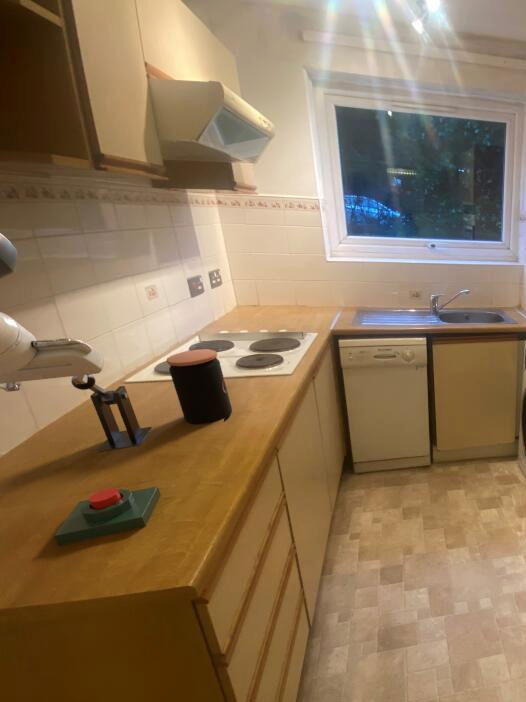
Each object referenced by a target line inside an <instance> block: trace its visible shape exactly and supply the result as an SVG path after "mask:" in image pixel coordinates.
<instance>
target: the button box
mask: <svg viewBox="0 0 526 702" xmlns="http://www.w3.org/2000/svg"><path fill="white" fill-rule="evenodd" d="M117 489H118V488H117ZM118 490H119V493H120V495H121V500H120V501H118V502H117V503H116V504H114V505H111V506H109V507H106V508H102V509H93V508H92V506H91V503H90V501H89V499H86V500H81V501H79V502H78V503H77V505H76V506H75V507H74V508H73V509H72V511H71V512H70V514H69V515H68V517H67V518H66V519H65V521H63V523H62V524H61V526H59V528H58V530H57V531H56V532H55V534H54V535H53V537H54V540H55V541H56V543H57V545H58V546H65V545H69V544H72V543H78V542H82V541H86V540H92V539H96V538H101V537H104V536H105V537H106V536H110V535H113V534H118V533H123V532H127V531H132V530H136V529H141V528H146V527H147V525H148V523H149V521H150V518H151V517H152V516H153V515H152V514H153V513H154V510H155V508H156V506H157V504H158V502H159V500H160V498H161V496H162V494H161V492H160V488H159V486H158V485H157V486H151V487H147V488H142V489H141V488H140V489H136V490H132V491H130V490H129V489H123V488H122V489H121V488H119V489H118Z"/></svg>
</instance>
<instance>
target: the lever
mask: <svg viewBox="0 0 526 702" xmlns="http://www.w3.org/2000/svg"><path fill="white" fill-rule="evenodd" d="M87 377H88V378H87V383H84V384H75V383H74V382H73V381H72V379H71V385H72V386H73V388H75V389H77V390H82V391H86V390H90V391H92V392H93V393H94V392H95V393H97V394H98V395H100V396H101V401H102V402H103V403H105V404H107V405H110V406H112V405H117V403H116V401H115V398H114V396H113V392H114V391H115V390H105V389H104V388H103V387H101V386H99V385H97V384H96V383H97V382H96V378H95V376H94V375H93V374H89V375H87ZM102 388H103V389H102Z"/></svg>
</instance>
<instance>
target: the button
mask: <svg viewBox="0 0 526 702" xmlns="http://www.w3.org/2000/svg"><path fill="white" fill-rule="evenodd" d="M88 500H89V501H90V503H91V506H92V508H93V509H102V508H106V507H109V506H111V505H114V504H116V503H117V502H118V501H120V500H121V495H120V493H119V490H118V488H116V487H110V488H105V489H101V490H99V491H97V492H95V493H93V494H92V495H90V496H89V498H88Z"/></svg>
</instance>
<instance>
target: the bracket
mask: <svg viewBox="0 0 526 702" xmlns="http://www.w3.org/2000/svg"><path fill="white" fill-rule="evenodd" d="M101 388H102V389H104V388H103V387H101ZM113 391H114V392H113V396H114V398H115V401H116V403H117V404H116V406H117V409H118V411H119V414H120V416H121V419H122V422H123V424H124V427H125V429H126V430H120V428H119V425H118V422H117V420H116V418H115V415H114V413H113V410H112V407H111V405H107V404H105V403H103V402H102V401H101V396H100V395H98V394H97V393H95V392H93V393H92V394H90V396H89V397H90V399H91V402H92V404H93V407H94V410H95V411H96V414H97V417H98V419H99V422H100V424H101V427H102V429H103V432H104V434H105V436H106V440H105V441H104V443H103V444H102V445H101V446H100V447H99V449H97V451H96V453H103V452H108V451H109V452H110V451H115V450H120V449H126V448H127V449H128V448H131V447H138V446H141V445H142V444H143V442H144V440H145V439H146V437H147V436H148V434H149V433H150V431H151V430H152V429H153V426H147V427H140V424H139V422H138V419H137V416H136V413H135V410H134V408H133V405H132V402H131V400H130V397H129V394H128V390H127V388H126V386H125V385H120V386H118V387H117V388H116V389H115V390H113Z"/></svg>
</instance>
